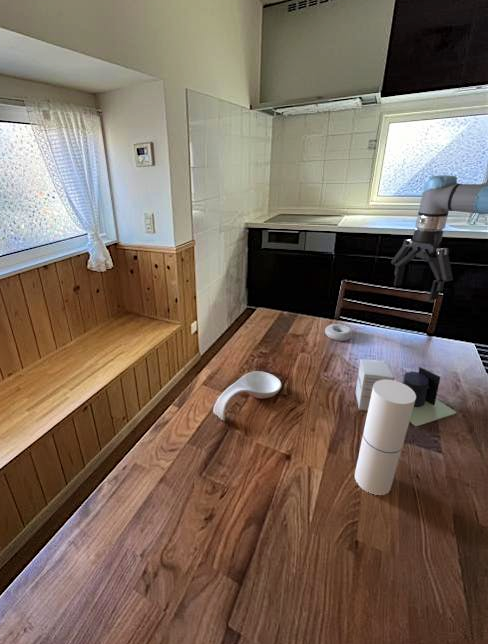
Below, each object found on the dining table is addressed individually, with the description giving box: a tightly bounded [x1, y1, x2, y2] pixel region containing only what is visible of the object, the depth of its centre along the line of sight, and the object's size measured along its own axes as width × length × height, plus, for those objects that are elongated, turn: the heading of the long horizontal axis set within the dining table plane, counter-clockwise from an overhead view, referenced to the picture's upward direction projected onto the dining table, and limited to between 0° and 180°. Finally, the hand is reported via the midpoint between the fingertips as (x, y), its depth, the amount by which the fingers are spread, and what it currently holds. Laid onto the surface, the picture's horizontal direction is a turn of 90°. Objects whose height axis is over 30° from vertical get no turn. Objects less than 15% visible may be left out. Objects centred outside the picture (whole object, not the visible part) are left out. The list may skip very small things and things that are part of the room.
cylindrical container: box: [354, 379, 416, 497], centre depth 70 cm, size 7×7×25 cm
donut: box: [324, 323, 354, 342], centre depth 131 cm, size 10×4×10 cm
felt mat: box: [409, 398, 458, 428], centre depth 96 cm, size 14×14×1 cm
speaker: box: [403, 367, 441, 407], centre depth 94 cm, size 8×6×10 cm
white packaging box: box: [355, 358, 395, 412], centre depth 94 cm, size 7×7×13 cm
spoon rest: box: [212, 370, 282, 422], centre depth 99 cm, size 24×12×7 cm, turn 127°
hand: (414, 292), depth 113 cm, fingers open, 13 cm apart
